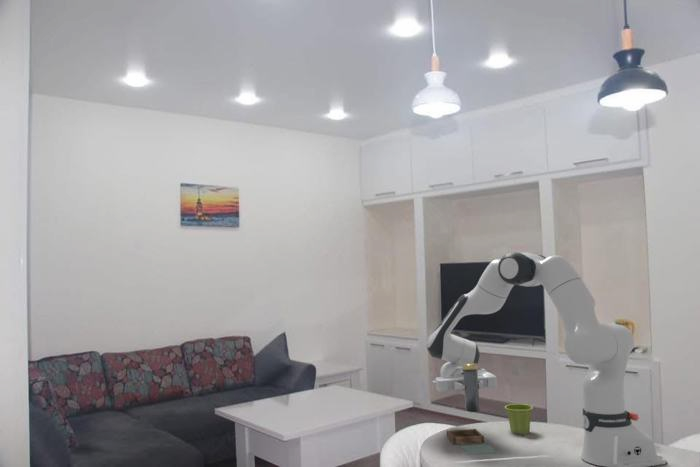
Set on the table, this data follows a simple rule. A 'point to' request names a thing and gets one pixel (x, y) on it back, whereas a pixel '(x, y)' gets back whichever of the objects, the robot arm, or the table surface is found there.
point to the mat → (478, 449)
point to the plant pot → (519, 417)
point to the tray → (465, 436)
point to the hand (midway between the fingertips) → (472, 386)
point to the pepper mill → (471, 387)
